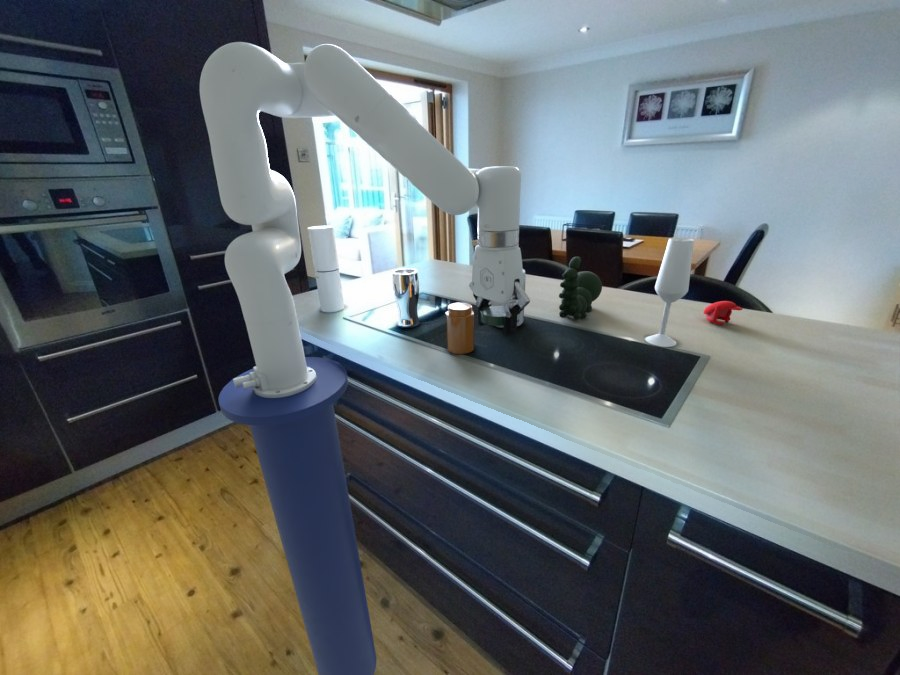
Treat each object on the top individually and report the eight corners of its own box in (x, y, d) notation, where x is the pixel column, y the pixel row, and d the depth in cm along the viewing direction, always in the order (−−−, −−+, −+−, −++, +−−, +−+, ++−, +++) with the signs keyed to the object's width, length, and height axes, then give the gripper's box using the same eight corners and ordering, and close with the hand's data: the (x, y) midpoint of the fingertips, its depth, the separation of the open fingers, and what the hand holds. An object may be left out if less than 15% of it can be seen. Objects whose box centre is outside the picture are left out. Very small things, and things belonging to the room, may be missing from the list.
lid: (519, 317, 79) (519, 308, 78) (504, 328, 74) (505, 319, 73) (490, 312, 82) (490, 304, 81) (474, 322, 77) (474, 313, 76)
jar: (459, 356, 88) (458, 312, 84) (441, 348, 93) (440, 306, 89) (479, 348, 92) (479, 306, 88) (461, 340, 97) (461, 300, 92)
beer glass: (400, 330, 104) (396, 275, 98) (393, 322, 110) (388, 270, 104) (424, 326, 107) (421, 272, 101) (416, 318, 112) (413, 267, 107)
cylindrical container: (335, 313, 119) (322, 229, 109) (316, 311, 121) (302, 228, 111) (348, 306, 125) (337, 225, 115) (330, 304, 127) (318, 225, 117)
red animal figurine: (701, 324, 102) (706, 302, 100) (701, 317, 107) (706, 296, 105) (738, 329, 98) (744, 306, 96) (736, 321, 103) (742, 300, 101)
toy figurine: (582, 334, 102) (605, 300, 120) (589, 264, 93) (612, 239, 112) (547, 328, 107) (574, 296, 125) (551, 261, 98) (579, 237, 116)
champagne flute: (656, 348, 90) (677, 242, 80) (639, 336, 96) (657, 237, 86) (683, 345, 90) (707, 240, 81) (664, 334, 97) (684, 236, 87)
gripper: (453, 236, 76) (456, 322, 83) (518, 247, 63) (515, 347, 70) (482, 232, 80) (482, 314, 87) (548, 241, 67) (542, 336, 74)
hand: (497, 328), depth 79 cm, fingers closed on lid, 6 cm apart
